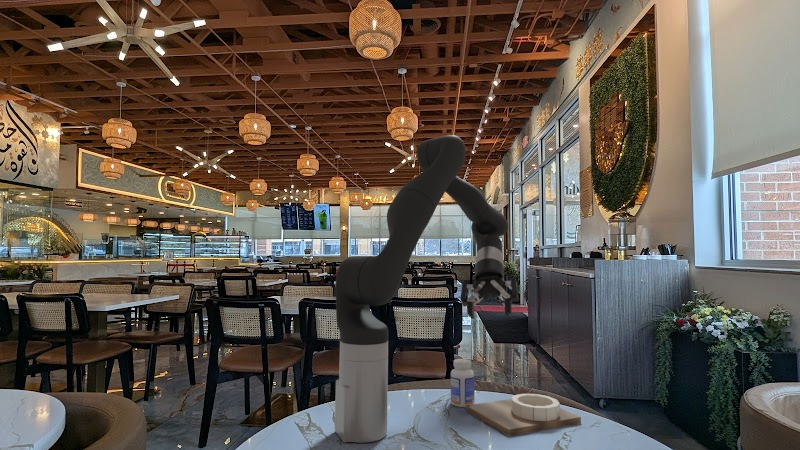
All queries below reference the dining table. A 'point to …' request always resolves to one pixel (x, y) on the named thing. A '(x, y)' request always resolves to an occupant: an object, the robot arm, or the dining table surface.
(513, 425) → the socket board
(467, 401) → the pill bottle
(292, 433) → the dining table surface
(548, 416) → the socket sleeve
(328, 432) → the dining table surface
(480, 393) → the dining table surface
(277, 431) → the dining table surface
